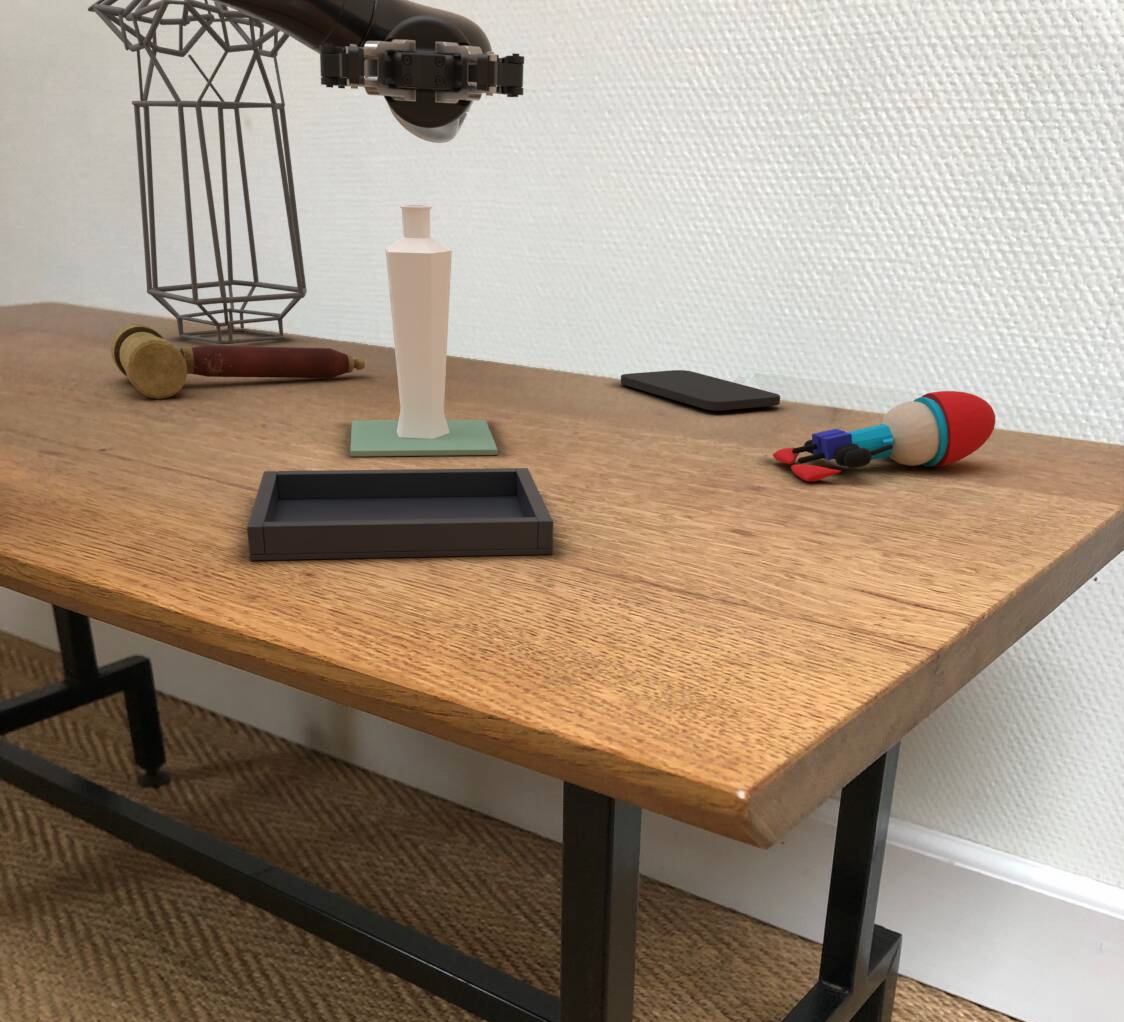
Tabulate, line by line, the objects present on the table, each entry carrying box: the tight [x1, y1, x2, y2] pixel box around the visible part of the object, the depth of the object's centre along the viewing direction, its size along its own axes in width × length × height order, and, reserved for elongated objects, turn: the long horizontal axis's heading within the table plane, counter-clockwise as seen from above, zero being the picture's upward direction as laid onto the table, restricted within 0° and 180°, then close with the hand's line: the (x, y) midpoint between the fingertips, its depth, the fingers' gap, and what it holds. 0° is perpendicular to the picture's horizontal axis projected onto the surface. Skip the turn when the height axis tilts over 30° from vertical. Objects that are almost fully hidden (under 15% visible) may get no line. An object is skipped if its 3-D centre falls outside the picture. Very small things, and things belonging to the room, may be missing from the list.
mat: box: [349, 419, 499, 458], centre depth 90 cm, size 10×10×1 cm
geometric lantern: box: [87, 0, 308, 345], centre depth 123 cm, size 16×16×35 cm
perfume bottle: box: [384, 204, 453, 439], centre depth 87 cm, size 5×4×15 cm
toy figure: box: [772, 390, 996, 483], centre depth 85 cm, size 8×5×15 cm
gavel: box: [110, 323, 366, 400], centre depth 108 cm, size 21×5×10 cm
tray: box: [246, 467, 554, 562], centre depth 70 cm, size 16×12×2 cm
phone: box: [620, 369, 781, 412], centre depth 108 cm, size 7×1×15 cm
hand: (418, 68), depth 84 cm, fingers open, 8 cm apart
